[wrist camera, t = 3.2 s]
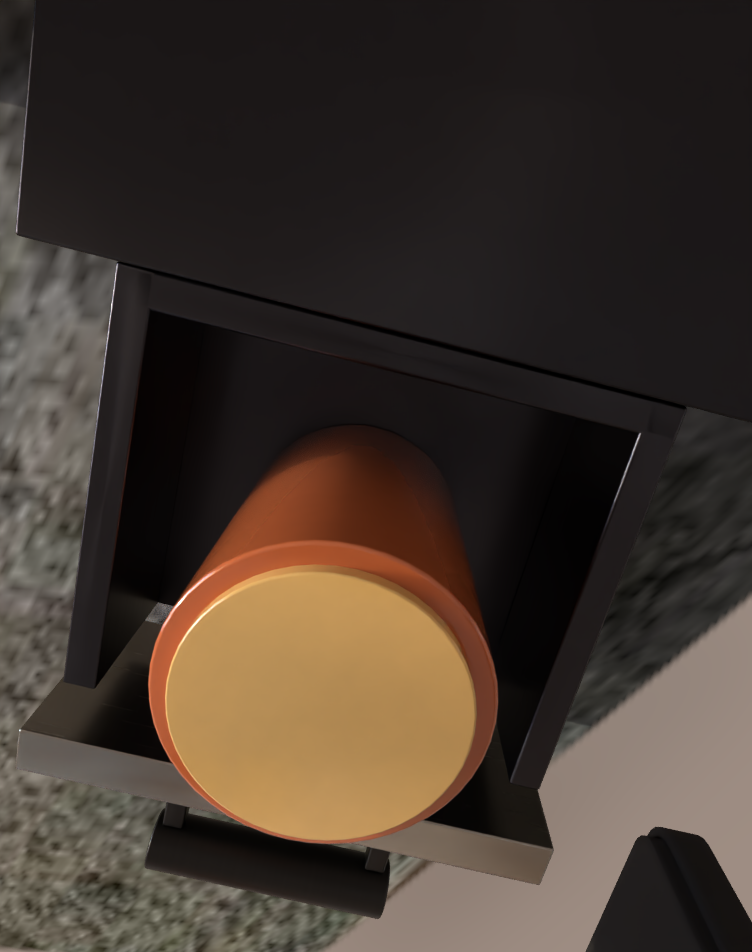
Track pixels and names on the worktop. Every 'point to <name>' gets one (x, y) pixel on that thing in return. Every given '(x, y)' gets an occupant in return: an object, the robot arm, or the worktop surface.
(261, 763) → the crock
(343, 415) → the drawer
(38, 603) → the worktop surface
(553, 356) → the black drawer cabinet
